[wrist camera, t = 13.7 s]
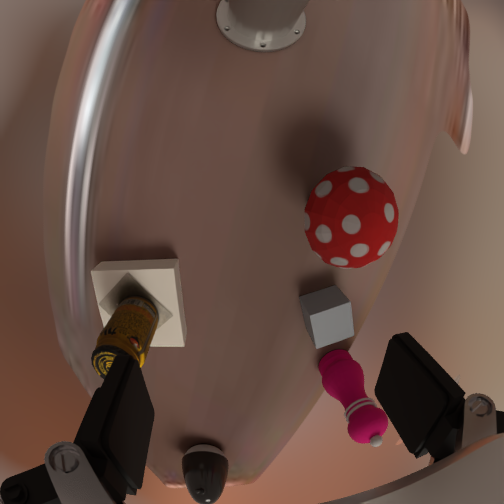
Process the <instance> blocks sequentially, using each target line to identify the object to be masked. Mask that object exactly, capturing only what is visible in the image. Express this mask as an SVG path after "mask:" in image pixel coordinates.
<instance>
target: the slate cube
mask: <svg viewBox="0 0 504 504" xmlns="http://www.w3.org/2000/svg"><path fill="white" fill-rule="evenodd" d="M299 299H300V303H301V307H302V312H303V316H304V321H305V326H306V329H307V331H308V333H309V335H310V337H311V339H312V341H313V343H314V345H315V347H316V349H318V348H321V347H324V346H327V345H330V344H333V343H335V342H338V341H341V340H344V339H346V338H349V337H352V336H354V328H353V318H352V310H351V302H350V301H349V299H348V298H347V297H346V296H345V295H344V294H343V293H342V292H341V290H340V289H339V288H338V287H337V286H336V285H334V286H331V287H328V288H325V289H322V290H319V291H316V292H312V293H309V294H306V295H303V296H300V297H299Z"/></svg>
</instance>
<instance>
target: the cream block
mask: <svg viewBox="0 0 504 504" xmlns="http://www.w3.org/2000/svg"><path fill="white" fill-rule="evenodd" d="M126 273H128V274H129V275H130V276H131V277H132V278H133V279H134V280H136V281H137V282H138V283H139V284H140V285H141V286H142V287H143V288H144V289H145V290H146V291H147V292H148V293H149V294H150V295H151V296H153V297H154V298H155V299H156V300H157V301H158V302H159V303H160V304H161V305H162V306H163V307H165V308H166V309H167V310H168V311H169V312H170V313H171V314H172V315H173V316H172V317H171V318H170V319H169V320H168V321H167V322H165V323H164V324H163V325H162V326H161V327H160V328H158V329H157V330H156V331H155V334H154V337H153V339H152V342H151V344H150V346H161V347H184V346H185V340H186V335H187V328H186V321H185V313H184V305H183V297H182V289H181V280H180V270H179V260H178V259H154V260H128V261H101V262H100V263H99V264H98V265H97V266H96V267H95V268H94V269H92V270H91V274H92V279H93V284H94V289H95V293H96V298H97V302H98V306H99V310H100V314H101V318H102V322H103V325H104V327H105V326H106V324H107V323H108V321H109V320H110V318H111V316H110V315H109V314H108V313H107V312H106V311H105V310H104V309H103V308H102V307H101V306H100V305H99V303H100V302H101V301H102V299H103V298H104V297H105V296H106V295H107V294H108V293H109V292H110V291H111V289H112V288H113V287H114V286H115V285H116V284H117V283H118V282H119V281H120V280H121V279H122V278H123V276H124V275H125V274H126Z"/></svg>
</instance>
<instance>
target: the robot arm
mask: <svg viewBox="0 0 504 504" xmlns="http://www.w3.org/2000/svg"><path fill="white" fill-rule="evenodd" d="M308 2H309V0H222V1H221V2H220V4H219V6H218V8H217V13H216V20H217V24H218V27H219V29H220V31H221V33H222V34H223V35H224V36H225V37H226V38H227V39H228V40H229V41H230V42H232V43H234V44H235V45H237V46H239V47H242V48H244V49H247V50H251V51H256V52H274V51H278V50H282V49H285V48H287V47H289V46H291V45H292V44H294V43H295V42H296V41H297V40H298V39H299V38H300V37H301V35H302V34H303V32H304V30H305V26H306V15H305V13H304V8H305V7H306V5H307V3H308ZM226 30H229V31H226ZM295 33H296V34H295ZM261 46H263V47H264V48H263V47H261ZM375 395H376V397H377V399H378V401H379V402H380V404H381V405H382V407H383V409H384V411H385V412H386V414H387V415H388V417H389V419H390V420H391V422H392V424H393V425H394V427H395V429H396V430H397V432H398V434H399V435H400V437H401V439H402V440H403V442H404V444H405V446H406V447H407V449H408V450H409V452H410V453H412V454H414V455H415V457H416V458H419V457H421V456H423V455H425V454H427V453H428V452H429V453H430V455H431V457H430V462H429V466H427V467H425V468H423V469H421V470H419V471H417V472H415V473H412V474H410V475H408V476H405V477H403V478H401V479H398V480H395V481H393V482H390V483H388V484H385V485H382V486H379V487H377V488H374V489H371V490H368V491H365V492H361V493H358V494H355V495H352V496H348V497H345V498H341V499H337V500H333V501H329V502H325V503H320V504H504V412H502V411H497V410H496V408H495V404H494V402H493V401H492V400H491V399H490V398H489V397H488V396H486V395H484V394H480V393H479V394H477V393H475V394H471V395H470V396H468V397H467V399H466V400H465V399H464V395H465V392H464V391H463V390H462V389H461V388H460V386H459V385H458V384H457V383H456V382H455V381H454V380H453V379H452V378H451V377H450V375H449V374H448V373H446V371H445V370H444V369H443V368H442V367H441V366H440V365H439V364H438V363H437V362H436V361H435V360H434V359H433V357H432V356H431V355H430V354H429V353H428V352H427V351H426V350H425V349H424V348H423V347H422V346H421V345H420V344H419V343H418V342H417V341H416V340H415V339H414V338H413V337H412V336H411V335H410V334H409V333H408V332H405V333H400V334H395V335H394V336H393V337H392V339H390V340H389V343H388V347H387V350H386V354H385V357H384V361H383V364H382V367H381V370H380V374H379V377H378V380H377V383H376V386H375ZM153 421H154V408H153V405H152V402H151V400H150V397H149V394H148V391H147V387H146V384H145V381H144V378H143V375H142V371H141V368H140V364H139V361H138V360H137V359H134V358H133V356H132V355H116V356H115V358H114V360H113V362H112V364H111V366H110V369H109V371H108V373H107V375H106V377H105V379H104V382H103V384H102V386H101V388H97V389H96V391H95V393H94V395H93V397H92V400H91V402H90V404H89V407H88V409H87V411H86V414H85V416H84V418H83V421H82V423H81V425H80V428H79V430H78V432H77V435H76V438H75V440H74V442H73V443H71V442H58V443H56V444H54V445H52V446H51V447H50V448H49V449H48V450H47V452H46V454H45V459H44V460H45V464H42V465H40V466H38V467H35V468H33V469H30V470H28V471H25V472H23V473H20V474H17V475H14V476H12V477H9V478H7V479H6V480H5V481H4V482H3V483H2V485H1V488H0V495H1V496H0V504H125V502H124V500H125V498H126V494H130V495H136V492H137V489H141V487H142V483H143V477H144V470H145V464H146V459H147V453H148V447H149V442H150V437H151V431H152V426H153Z"/></svg>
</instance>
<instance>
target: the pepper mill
mask: <svg viewBox="0 0 504 504" xmlns="http://www.w3.org/2000/svg"><path fill="white" fill-rule="evenodd" d="M319 371H320V373H321V376H322V384H323V387H324V388H325V390H326V391H327V393H329V394H330V395H331V396H332V397H334V398H336V399H337V400H339V401H340V402H341V403H342V405H343V406H344V408H345V413H344V416H345V418H346V421H347V422H348V423H349V424H348V433H349V435H350V437H351V438H352V439H353V440H354V441H356V442H358V443H370V444H371V445H372V446H373V447H378V446H380V445H381V443H382V437H381V436H382V435H383V434H384V433H385V431H386V429H387V426H388V418H387V416H386V414H385V412H384V411H383V410H382V409H380V408H377V405H376V404H375V402H374V400H373V399H371V398H368V397H367V395H366V393H365V390H364V375H363V370H362V368H361V366H360V364H359V363H357V362H356V361H354V360H353V359H352V357H351V355H350V354H349V353H348V352H347V351H346V350H342V349H337V350H333V351H331V352H329V353H327V354H326V355H325V356H324V357H323V358H322V359H321V361H320V362H319Z"/></svg>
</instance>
